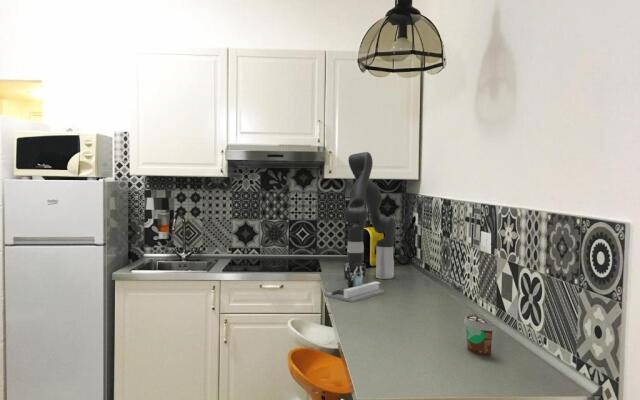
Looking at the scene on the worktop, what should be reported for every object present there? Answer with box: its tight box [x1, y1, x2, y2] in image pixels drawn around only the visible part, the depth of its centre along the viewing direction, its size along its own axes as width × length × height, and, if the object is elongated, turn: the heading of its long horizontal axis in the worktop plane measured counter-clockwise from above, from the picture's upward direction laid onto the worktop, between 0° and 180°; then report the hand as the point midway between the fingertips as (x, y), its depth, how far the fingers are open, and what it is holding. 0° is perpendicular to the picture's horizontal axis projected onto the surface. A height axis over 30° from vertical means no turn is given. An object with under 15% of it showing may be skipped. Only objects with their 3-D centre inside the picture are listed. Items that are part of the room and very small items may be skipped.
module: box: [350, 275, 363, 287], centre depth 215 cm, size 5×4×7 cm
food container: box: [463, 312, 494, 357], centre depth 144 cm, size 12×6×10 cm, turn 5°
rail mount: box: [324, 281, 385, 303], centre depth 215 cm, size 24×16×5 cm, turn 138°
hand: (355, 287), depth 215 cm, fingers open, 6 cm apart
